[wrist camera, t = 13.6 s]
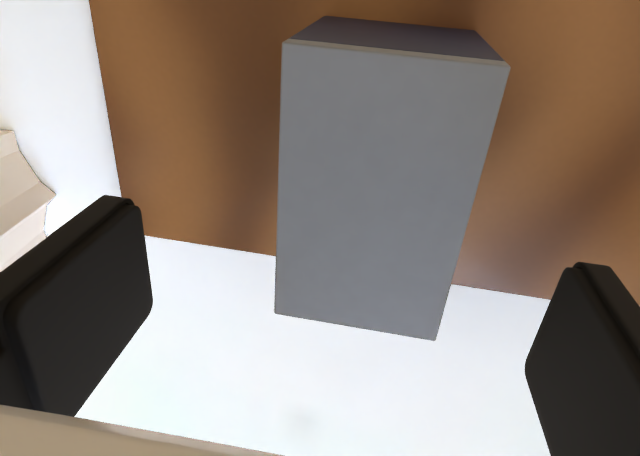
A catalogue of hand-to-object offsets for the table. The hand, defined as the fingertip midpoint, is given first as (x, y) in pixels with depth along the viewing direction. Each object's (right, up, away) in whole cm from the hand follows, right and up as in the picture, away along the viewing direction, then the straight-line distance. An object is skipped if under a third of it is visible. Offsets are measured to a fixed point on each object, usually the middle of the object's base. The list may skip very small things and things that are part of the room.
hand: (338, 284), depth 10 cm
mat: (+3, +5, +7) cm, 9 cm away
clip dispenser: (+2, +5, +7) cm, 8 cm away
